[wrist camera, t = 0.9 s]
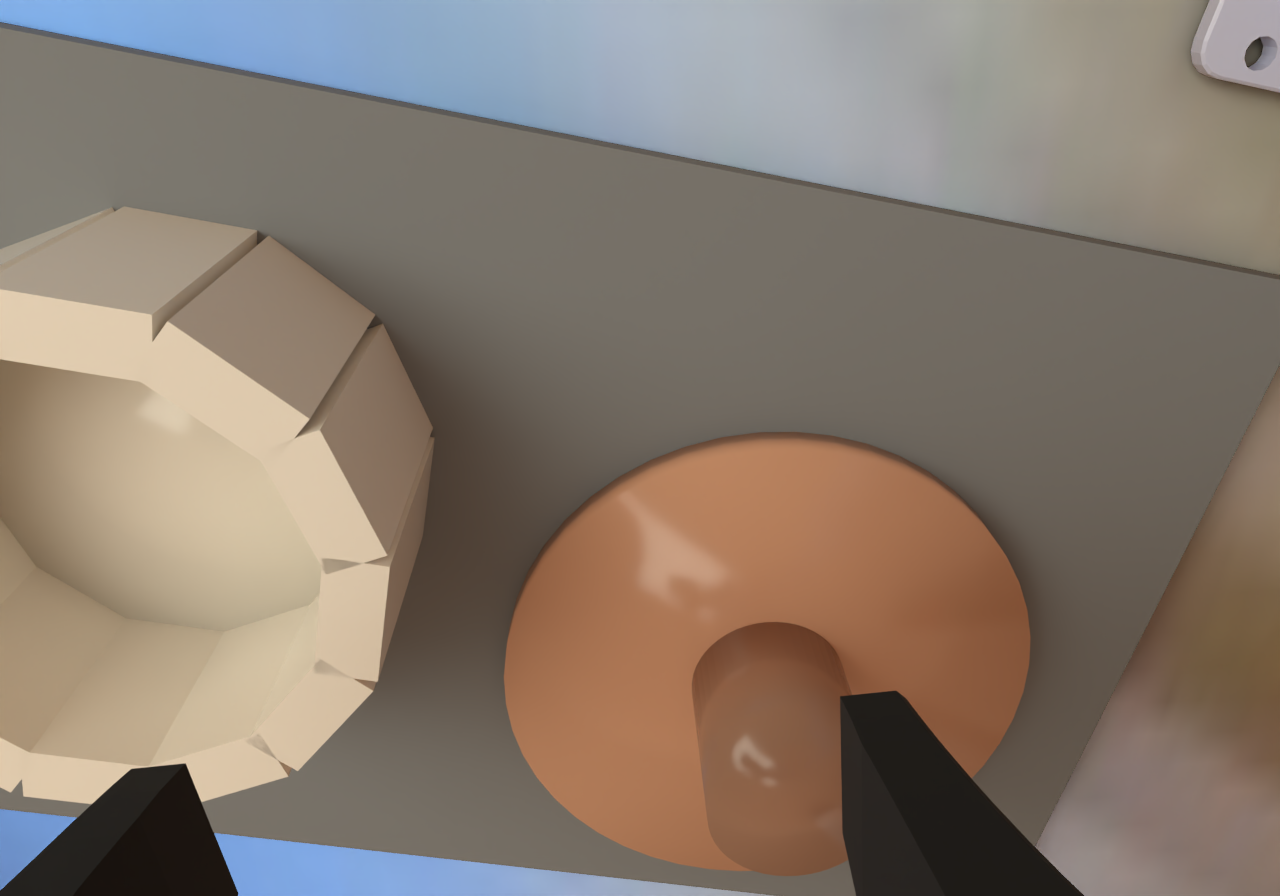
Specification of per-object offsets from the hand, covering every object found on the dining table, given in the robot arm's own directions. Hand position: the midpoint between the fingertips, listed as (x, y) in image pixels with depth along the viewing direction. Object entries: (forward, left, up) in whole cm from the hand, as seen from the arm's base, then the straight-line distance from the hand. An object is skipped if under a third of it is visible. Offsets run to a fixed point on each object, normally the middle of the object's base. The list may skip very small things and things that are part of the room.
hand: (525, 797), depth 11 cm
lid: (-5, +4, -9) cm, 11 cm away
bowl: (+7, +1, -9) cm, 11 cm away
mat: (+1, +3, -10) cm, 10 cm away
